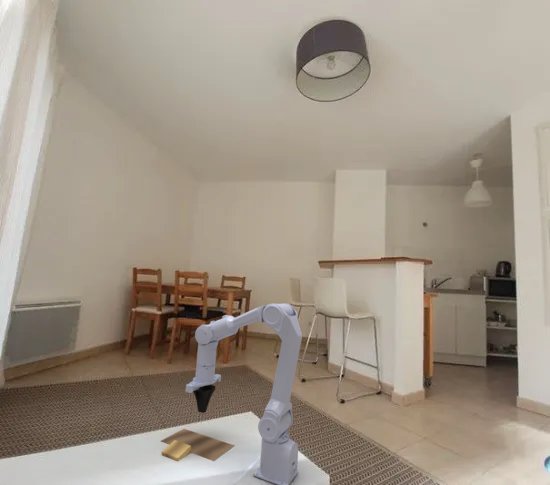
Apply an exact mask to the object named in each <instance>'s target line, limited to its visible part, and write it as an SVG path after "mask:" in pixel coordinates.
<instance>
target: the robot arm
mask: <svg viewBox="0 0 550 485" xmlns="http://www.w3.org/2000/svg"><path fill="white" fill-rule="evenodd" d="M298 316H299V315H298V311H296V309H295V308H294V307H293V305H291V303H287V302H283V303H269V304H267V305H266V304H265V305H261V306H258V307H256V308H254V309H251V310H249V311H247V312H243V313H242V314H240V315H237V316H235V317H234V316H233V315H228V314H225V315H223V316H221V317H222V318H221V319H218V320H216V321H215V320H211V321H210V323H209V324H201V325H199V326H198V327H196V328H197V329H196V330H195V333H194V337H195V341H196V342H197V354H196V365H195V377H193V378H192V381H190V382H189V383H187V384H185V393H189V394H192V393H193V395H194V397H195V401H196V405H197V406H196V407H197V412H198V413H201V414H204V413H206V412H207V410H208V407H209V404H210V400H211V398H212V396H213V394H214V392H215V390H216V385H213V384H215V383H218V382H219V383H220V382H221V381H222V375H221V374H219V373H218V374H217V373H216V371H215V370H216V360H217V347H218V346H219V345H218V344H219V341H220V340H223V339H225V338H228V337H230V336H233V335H236V334H237V333H238V331H239V329H240V328H242V327H245V326H248V325H251V324H254V323H256V322H259V323H261V324H262V323H264V324H265V325H266V326H267V327H269V328H270V329H271V330H273V332H275V333H276V334H277V336H278V337H279V339H280V340H281V345H280V349H279V355H278V360H277V363H276V364H277V365H276V369H275V374H274V375H275V376H274V380H273V385H272V389H271V394H270V399H269V401H268V403H267V405H266V406H265V409H264V412H263V415H262V417H260V419H259V421H258V425H257V426H258V427H257V428H258V434H259V435H260V436H261V449H260V450H261V451H260V466H259V468H257V469H256V471H254V473H253V476H254V477H255V478H259V479H261V480H263V481H267V482H269V483H272V484H274V485H290V484H291V482H292V481H293V480H294V479H295V478H296V476H297V475H298V473H299V470H298V463H299V461H298V460H299V459H298V458H299V445H298V443H297V442H295V441H293V440H292V439H291V438H290V434H289V429H290V428H291V426H292V425H293V421H294V418H293V412H292V411H293V404H292V402H291V398H292V393H293V386H294V382H295V377H296V372H297V371H296V370H297V366H298V362H299V356H300V351H301V346H302V339H303V332H302V330H301V327H300V322H299V320H298V319H299V318H298Z"/></svg>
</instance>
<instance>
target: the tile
mask: <svg viewBox="0 0 550 485" xmlns="http://www.w3.org/2000/svg"><path fill="white" fill-rule="evenodd" d="M190 454H192V453H191V446H190V445H187V444H185V443H182V442H179V441H176V440H174V441H173V442H172V443H171V444H170V445H169V444H168V445H167V446H166V447H165V448H164V449H163V450H161V455H162V456H164V457H167V458H169V459H172V460H174V461H177V462H179V461H181V460H182V459H183V458H185V457H188V455H190Z"/></svg>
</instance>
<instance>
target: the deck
mask: <svg viewBox="0 0 550 485" xmlns="http://www.w3.org/2000/svg"><path fill="white" fill-rule="evenodd" d="M174 440H176V441H179V442H182V443H185V444H187V445H190V446H191V453H190V454H194V455H196V456H199V457H202V458H204V459H207V460H211V461H213V462H215V461H217V460H218V459H220V457H222V456H223V455H225V454H226V453H227V452H229V451H231V449H233V448H234V447H235V446H236V445H234V444H231V443H228V442H225V441H222V440H219V439H216V438H212V437H210V436H208V435H204V434H201V433H198V432H195V431H192V430H189V429H186V428H182V429H180V430H179V431H177V432H175V433H173V434H171V435H169V436H167V437H165V438H164V439H163V438H162V439H161V440H160V442H162V443H164V444H167V445H168V446H169V445H170V444H171V443H172V442H173V441H174Z"/></svg>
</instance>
